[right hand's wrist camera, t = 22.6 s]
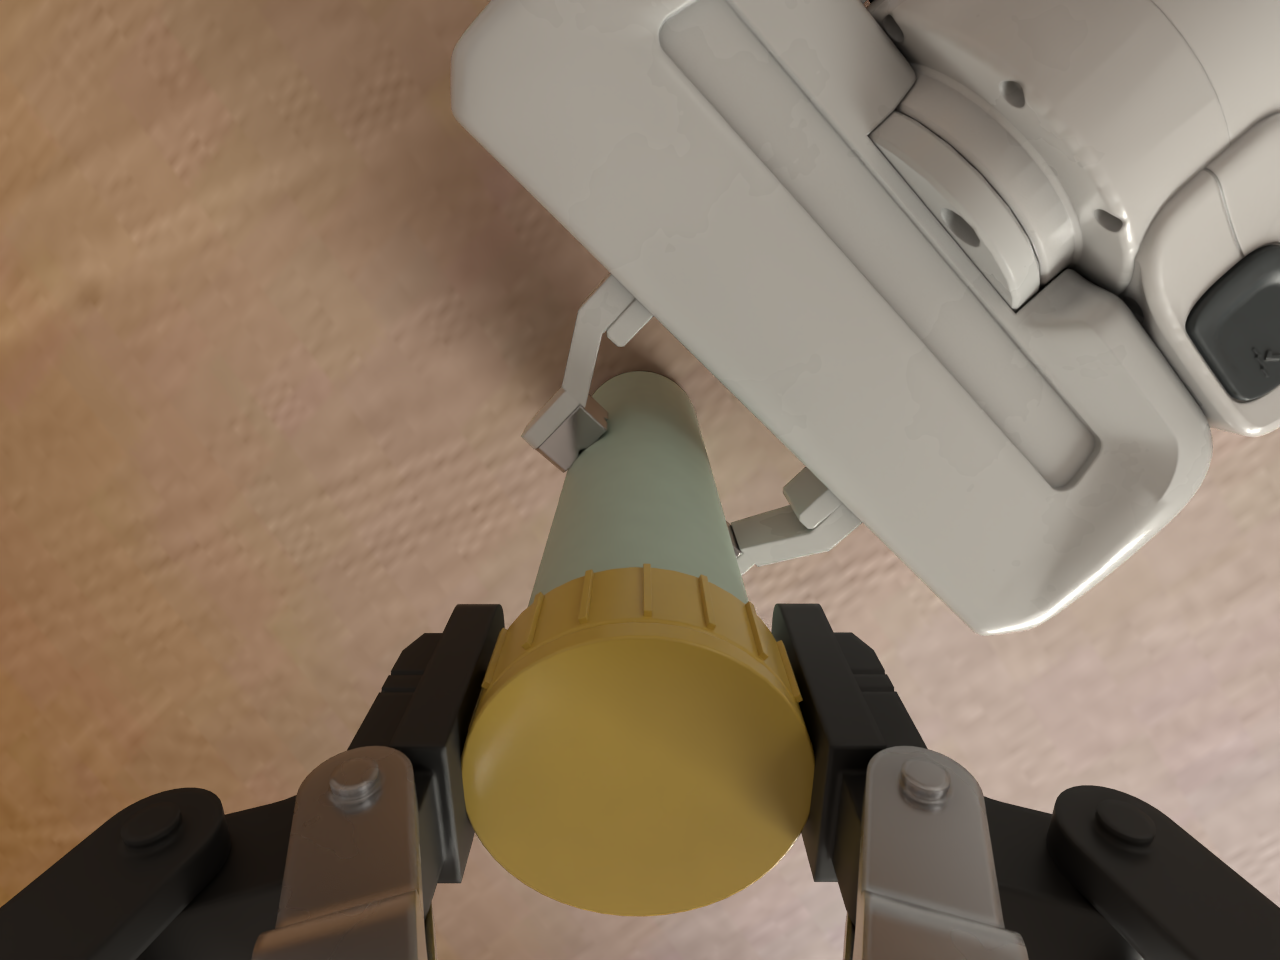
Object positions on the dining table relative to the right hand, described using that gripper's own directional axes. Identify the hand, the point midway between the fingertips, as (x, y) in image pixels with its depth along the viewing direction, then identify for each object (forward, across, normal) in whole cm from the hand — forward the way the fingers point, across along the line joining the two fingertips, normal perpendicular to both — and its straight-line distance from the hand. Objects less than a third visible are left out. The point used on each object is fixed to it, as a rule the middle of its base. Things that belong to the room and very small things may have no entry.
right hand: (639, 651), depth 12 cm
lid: (-3, 0, 0) cm, 3 cm away
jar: (+14, 0, 0) cm, 14 cm away
